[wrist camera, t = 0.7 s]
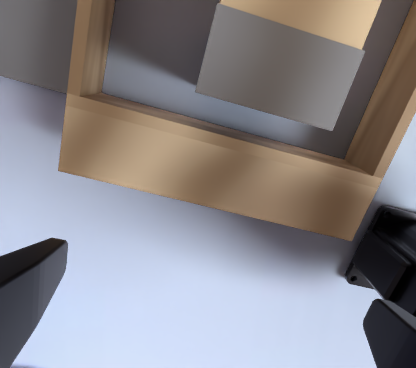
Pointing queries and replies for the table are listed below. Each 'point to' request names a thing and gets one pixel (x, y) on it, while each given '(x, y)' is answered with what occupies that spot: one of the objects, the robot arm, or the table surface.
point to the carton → (230, 144)
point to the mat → (37, 41)
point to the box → (286, 55)
